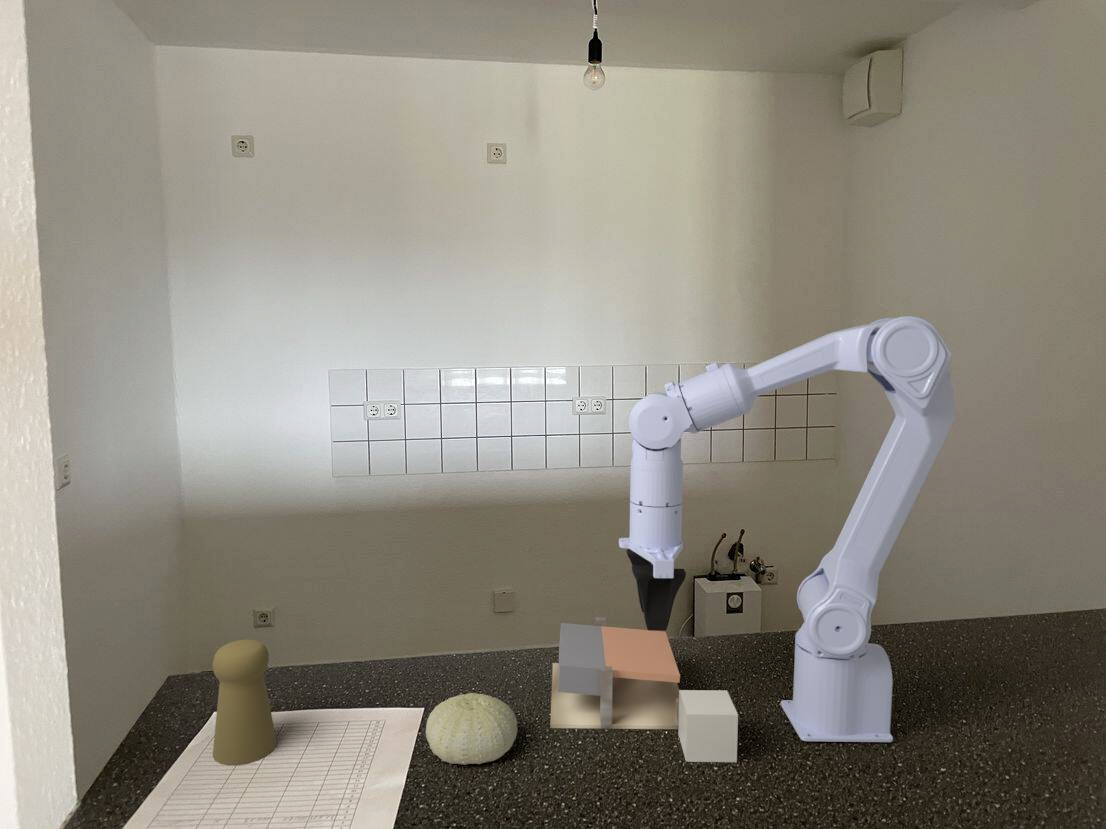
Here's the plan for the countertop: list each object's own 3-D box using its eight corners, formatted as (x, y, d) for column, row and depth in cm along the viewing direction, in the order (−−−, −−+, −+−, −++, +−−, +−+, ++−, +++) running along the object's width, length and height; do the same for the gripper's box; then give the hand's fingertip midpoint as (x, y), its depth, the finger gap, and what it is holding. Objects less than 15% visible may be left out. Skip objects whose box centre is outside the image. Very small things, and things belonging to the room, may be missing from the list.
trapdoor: (663, 654, 93) (665, 631, 92) (677, 702, 81) (680, 675, 80) (559, 646, 93) (561, 622, 92) (558, 692, 81) (560, 665, 81)
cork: (214, 771, 72) (208, 662, 71) (210, 741, 77) (205, 639, 76) (280, 755, 75) (276, 650, 73) (272, 727, 80) (268, 628, 79)
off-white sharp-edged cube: (725, 735, 78) (727, 690, 78) (736, 762, 74) (738, 714, 73) (678, 735, 79) (679, 690, 78) (685, 762, 74) (686, 714, 73)
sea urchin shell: (513, 759, 71) (455, 697, 71) (457, 807, 72) (401, 746, 73) (534, 711, 80) (483, 656, 80) (484, 755, 81) (434, 701, 82)
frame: (671, 666, 94) (671, 617, 94) (690, 729, 79) (691, 671, 79) (552, 665, 95) (552, 616, 94) (550, 728, 80) (550, 669, 79)
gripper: (614, 487, 89) (613, 597, 91) (625, 517, 75) (623, 646, 77) (673, 488, 89) (671, 597, 91) (695, 517, 75) (692, 647, 76)
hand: (653, 620), depth 84 cm, fingers open, 5 cm apart
